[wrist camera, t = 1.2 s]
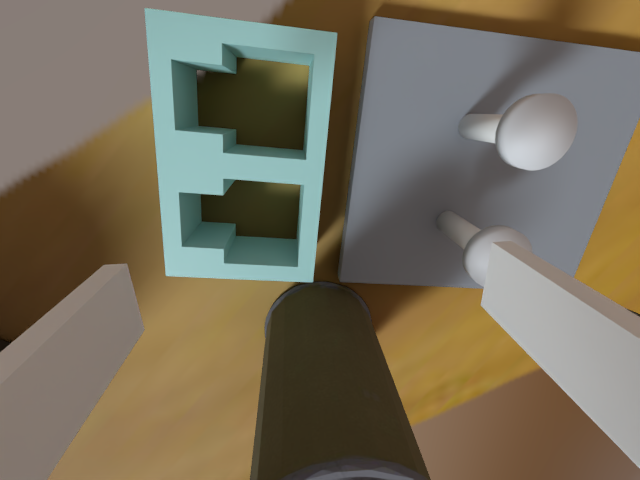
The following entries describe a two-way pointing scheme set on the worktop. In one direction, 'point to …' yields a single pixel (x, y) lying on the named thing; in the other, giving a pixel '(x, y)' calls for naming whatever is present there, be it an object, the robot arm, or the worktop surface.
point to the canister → (329, 394)
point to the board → (480, 151)
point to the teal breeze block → (232, 145)
